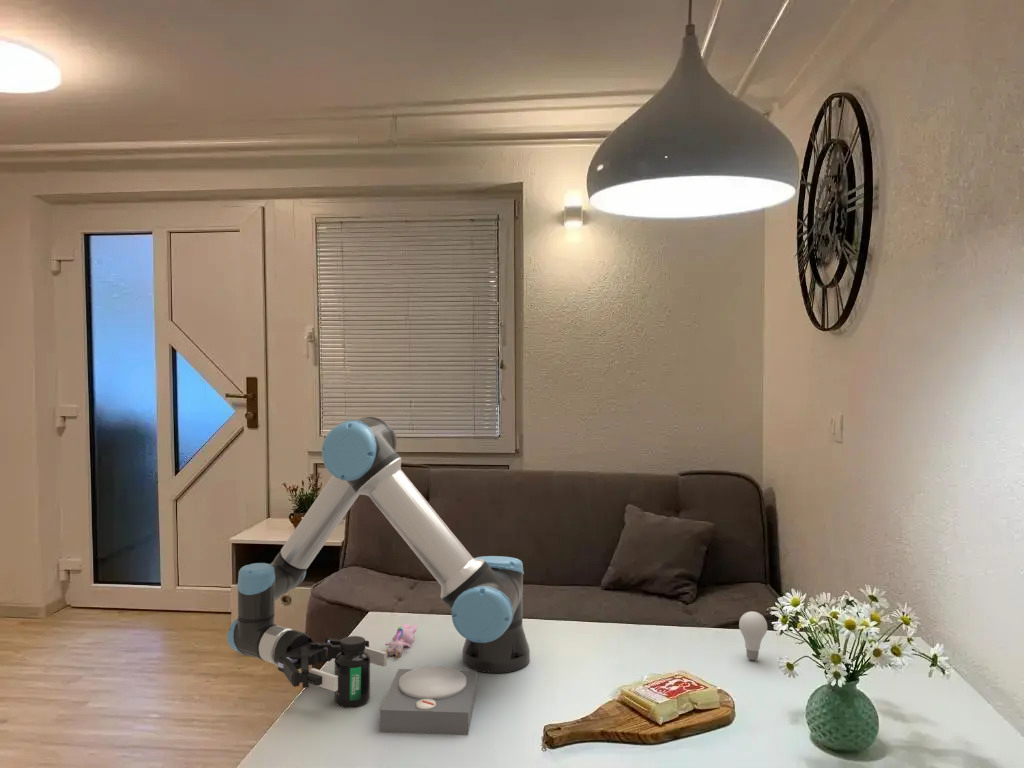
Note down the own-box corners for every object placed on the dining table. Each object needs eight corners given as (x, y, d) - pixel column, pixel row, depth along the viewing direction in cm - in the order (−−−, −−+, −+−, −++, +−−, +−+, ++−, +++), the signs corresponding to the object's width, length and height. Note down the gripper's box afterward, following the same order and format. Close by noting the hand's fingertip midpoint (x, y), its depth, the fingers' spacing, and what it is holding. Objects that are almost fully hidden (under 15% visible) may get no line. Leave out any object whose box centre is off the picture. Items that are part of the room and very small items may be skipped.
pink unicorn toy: (404, 666, 169) (425, 632, 183) (403, 642, 168) (424, 609, 182) (378, 664, 170) (400, 630, 184) (376, 639, 169) (399, 607, 183)
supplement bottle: (362, 710, 145) (363, 648, 144) (328, 706, 146) (329, 645, 146) (374, 694, 152) (375, 635, 151) (342, 691, 153) (342, 632, 152)
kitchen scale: (398, 688, 154) (398, 664, 154) (476, 690, 154) (476, 666, 154) (379, 731, 136) (379, 704, 136) (468, 734, 136) (468, 707, 136)
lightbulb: (750, 652, 176) (751, 606, 175) (772, 661, 171) (773, 613, 170) (732, 658, 172) (733, 610, 172) (754, 667, 167) (755, 618, 167)
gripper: (330, 646, 169) (403, 668, 158) (236, 687, 148) (313, 715, 137) (330, 613, 169) (404, 633, 157) (236, 649, 148) (313, 674, 136)
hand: (362, 671), depth 147 cm, fingers open, 13 cm apart
